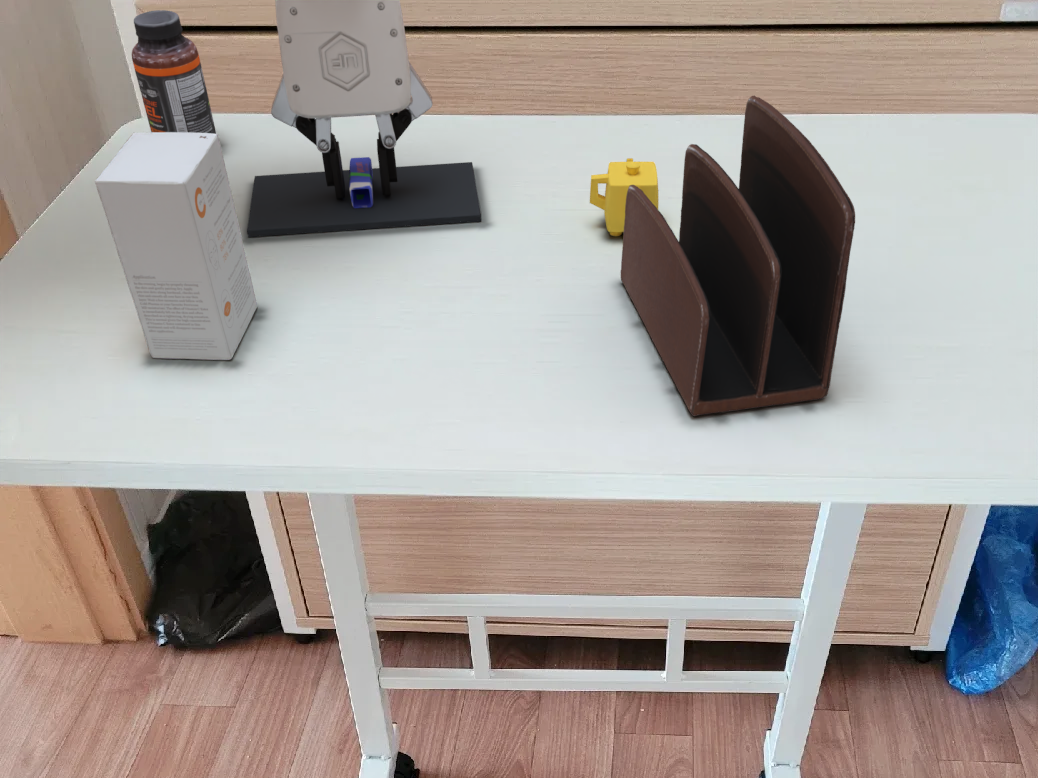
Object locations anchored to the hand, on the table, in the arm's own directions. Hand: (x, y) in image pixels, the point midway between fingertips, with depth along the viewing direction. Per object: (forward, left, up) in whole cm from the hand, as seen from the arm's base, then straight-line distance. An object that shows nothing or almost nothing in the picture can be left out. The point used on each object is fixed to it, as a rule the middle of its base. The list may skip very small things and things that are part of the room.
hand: (363, 189), depth 98 cm
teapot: (+22, -8, -1) cm, 23 cm away
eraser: (0, 0, -1) cm, 1 cm away
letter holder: (+26, -27, -1) cm, 38 cm away
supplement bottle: (-17, +14, -1) cm, 22 cm away
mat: (0, 0, -1) cm, 1 cm away
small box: (-12, -21, -1) cm, 24 cm away
